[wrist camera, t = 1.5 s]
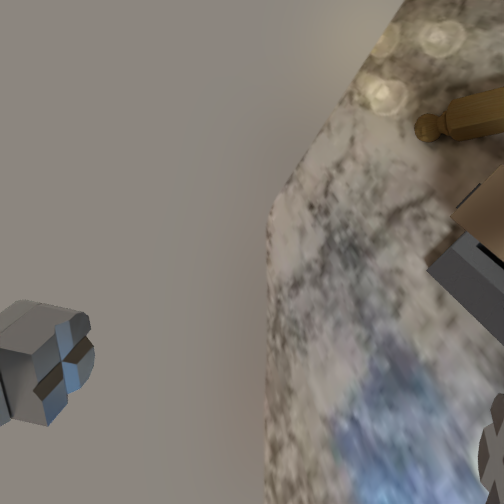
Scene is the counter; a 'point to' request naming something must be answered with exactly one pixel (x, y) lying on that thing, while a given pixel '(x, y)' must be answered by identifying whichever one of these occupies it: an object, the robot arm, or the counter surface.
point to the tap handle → (465, 118)
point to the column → (485, 213)
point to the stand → (474, 280)
